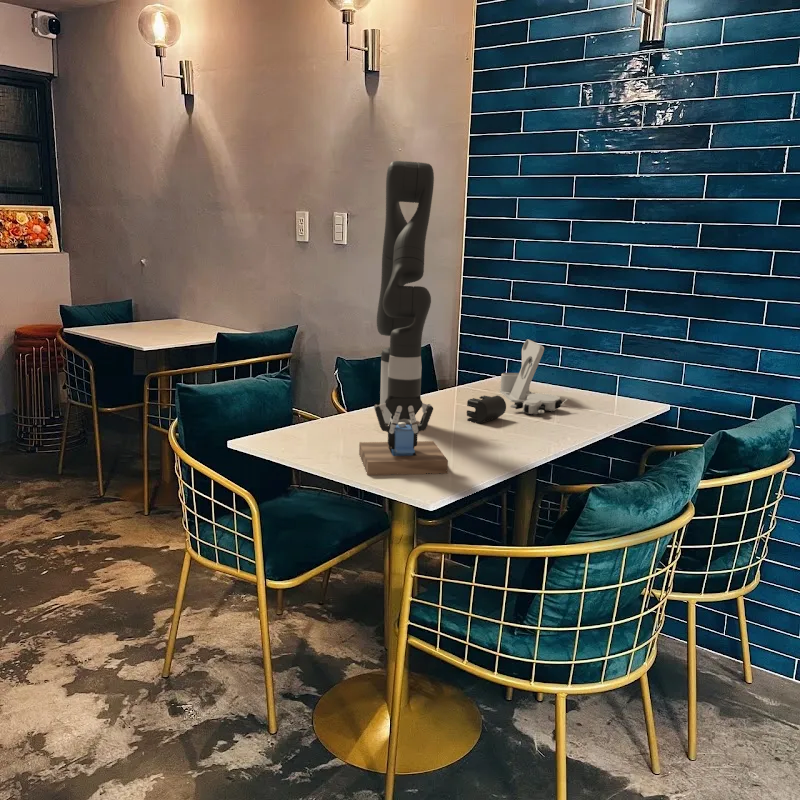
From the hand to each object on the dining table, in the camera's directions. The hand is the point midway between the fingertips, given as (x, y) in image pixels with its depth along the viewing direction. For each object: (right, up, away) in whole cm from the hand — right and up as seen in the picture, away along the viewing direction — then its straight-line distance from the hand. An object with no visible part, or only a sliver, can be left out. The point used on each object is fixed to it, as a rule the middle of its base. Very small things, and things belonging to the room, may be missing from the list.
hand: (402, 447), depth 184 cm
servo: (0, -3, +1) cm, 3 cm away
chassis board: (0, -4, +1) cm, 4 cm away
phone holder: (+39, +12, +78) cm, 88 cm away
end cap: (+24, +5, +45) cm, 51 cm away
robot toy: (+41, +7, +57) cm, 71 cm away
